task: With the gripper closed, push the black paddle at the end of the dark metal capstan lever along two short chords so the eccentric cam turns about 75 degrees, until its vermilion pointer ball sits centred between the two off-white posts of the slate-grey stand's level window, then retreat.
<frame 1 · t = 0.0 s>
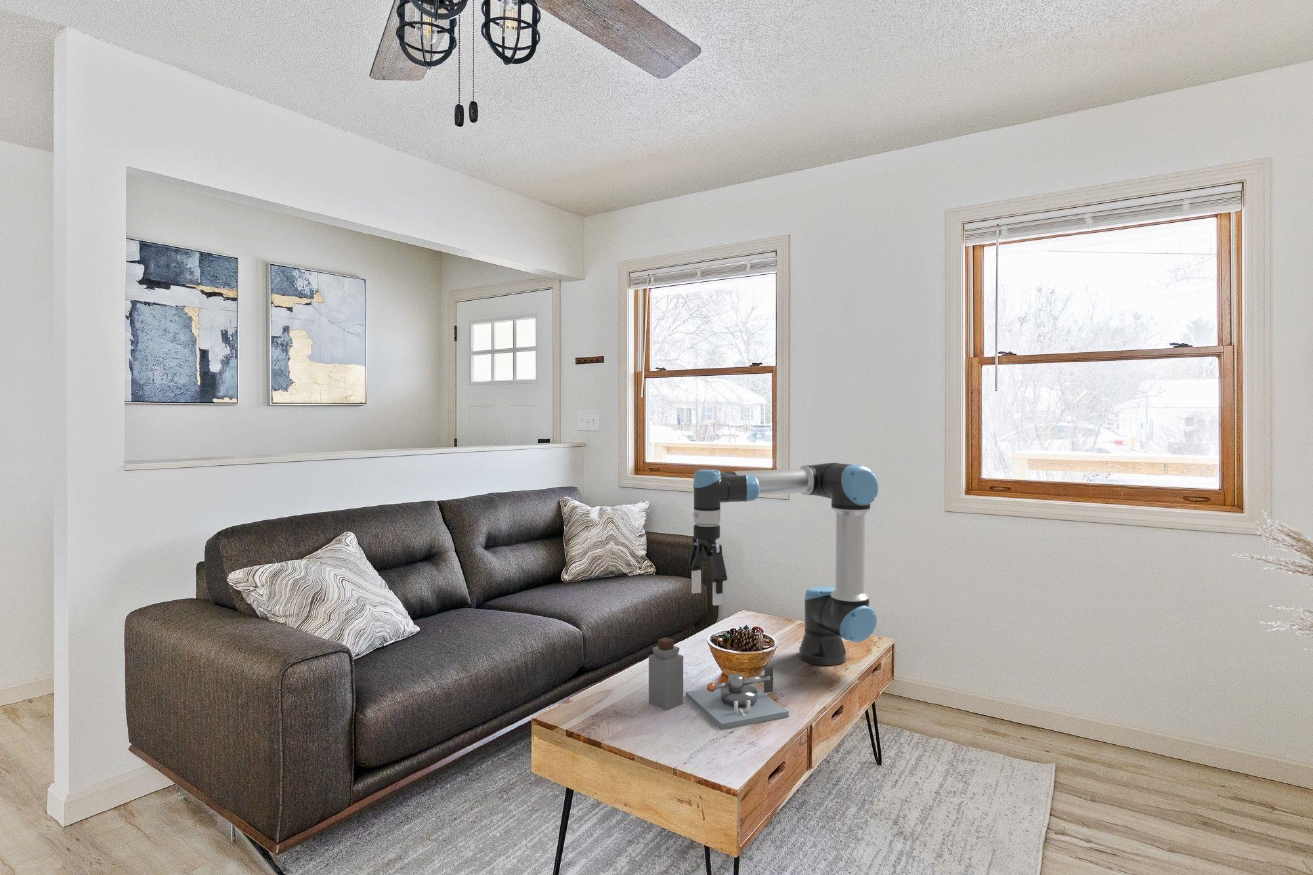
hand: (706, 598, 200), 28 cm above the table, fingers open, 13 cm apart
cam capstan: (740, 684, 194), point 6 cm above the table, hinge at 0.0°
stand: (735, 706, 193), on the table
perfume bottle: (665, 704, 195), on the table
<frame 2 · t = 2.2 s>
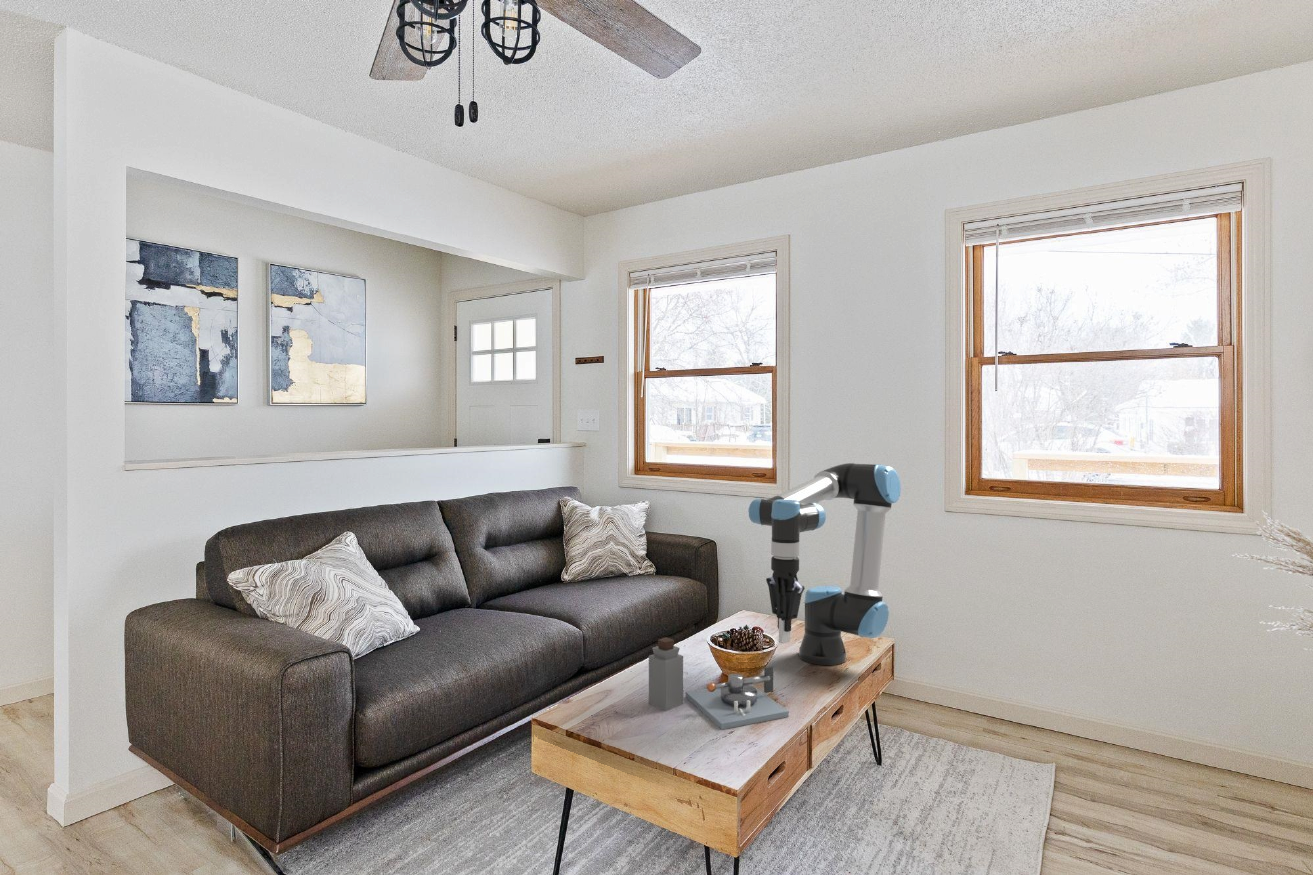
hand: (784, 642, 192), 18 cm above the table, fingers closed
nothing on the table moved.
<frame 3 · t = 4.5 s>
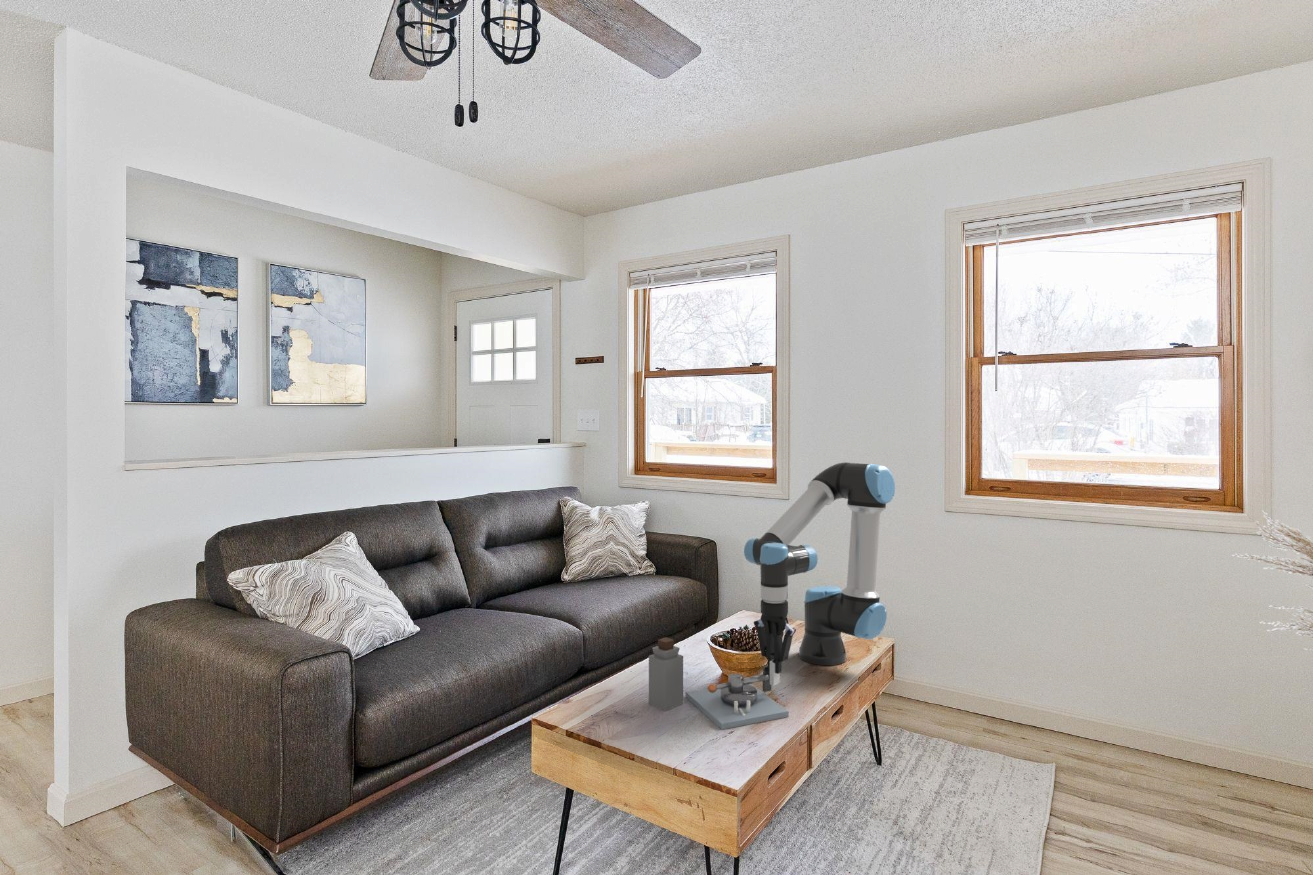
hand: (774, 683, 196), 5 cm above the table, fingers closed
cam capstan: (740, 684, 194), point 6 cm above the table, hinge at 4.3°, touching gripper
everything else where it was.
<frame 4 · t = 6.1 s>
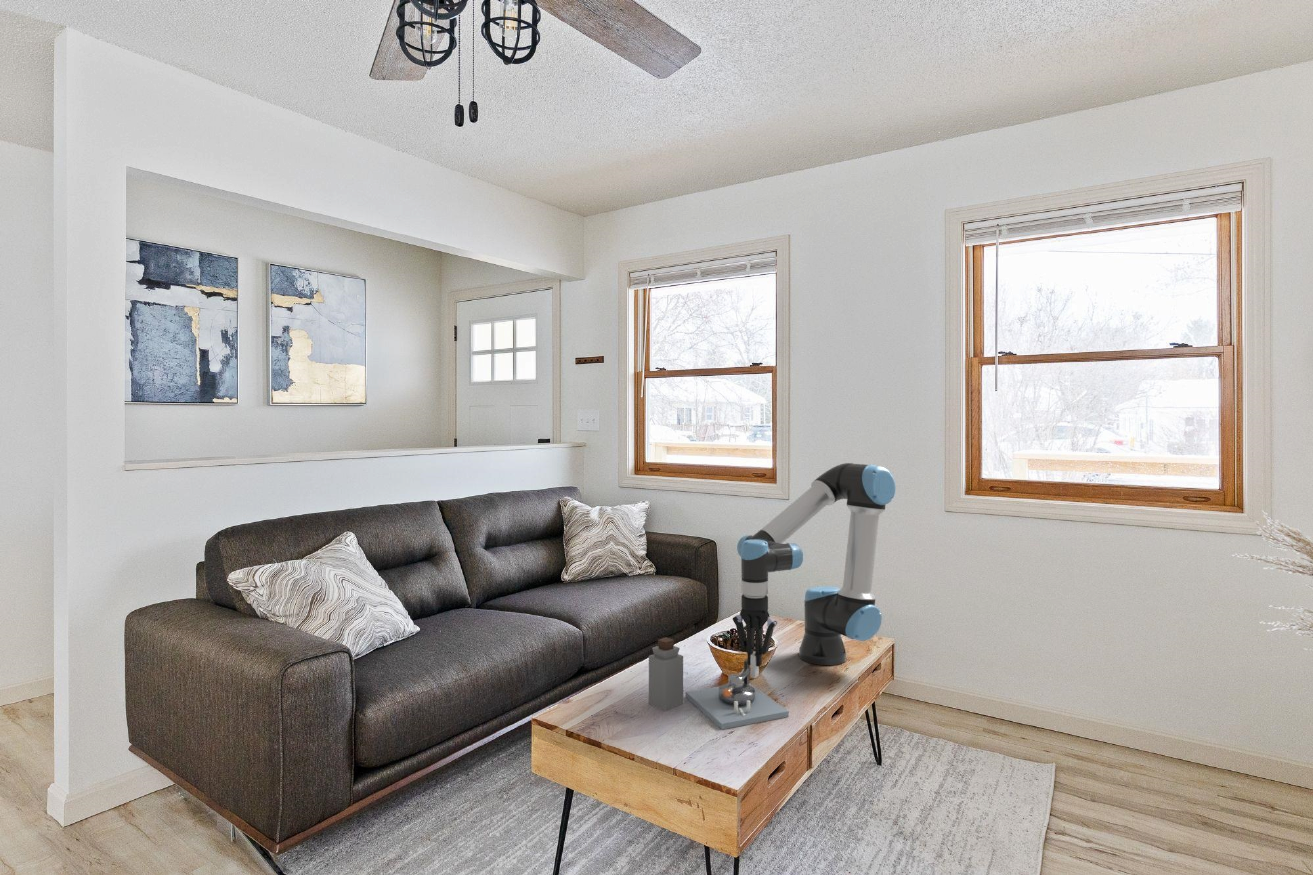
hand: (754, 676, 201), 5 cm above the table, fingers closed
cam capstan: (737, 683, 195), point 6 cm above the table, hinge at 43.7°, touching gripper
everything else where it was.
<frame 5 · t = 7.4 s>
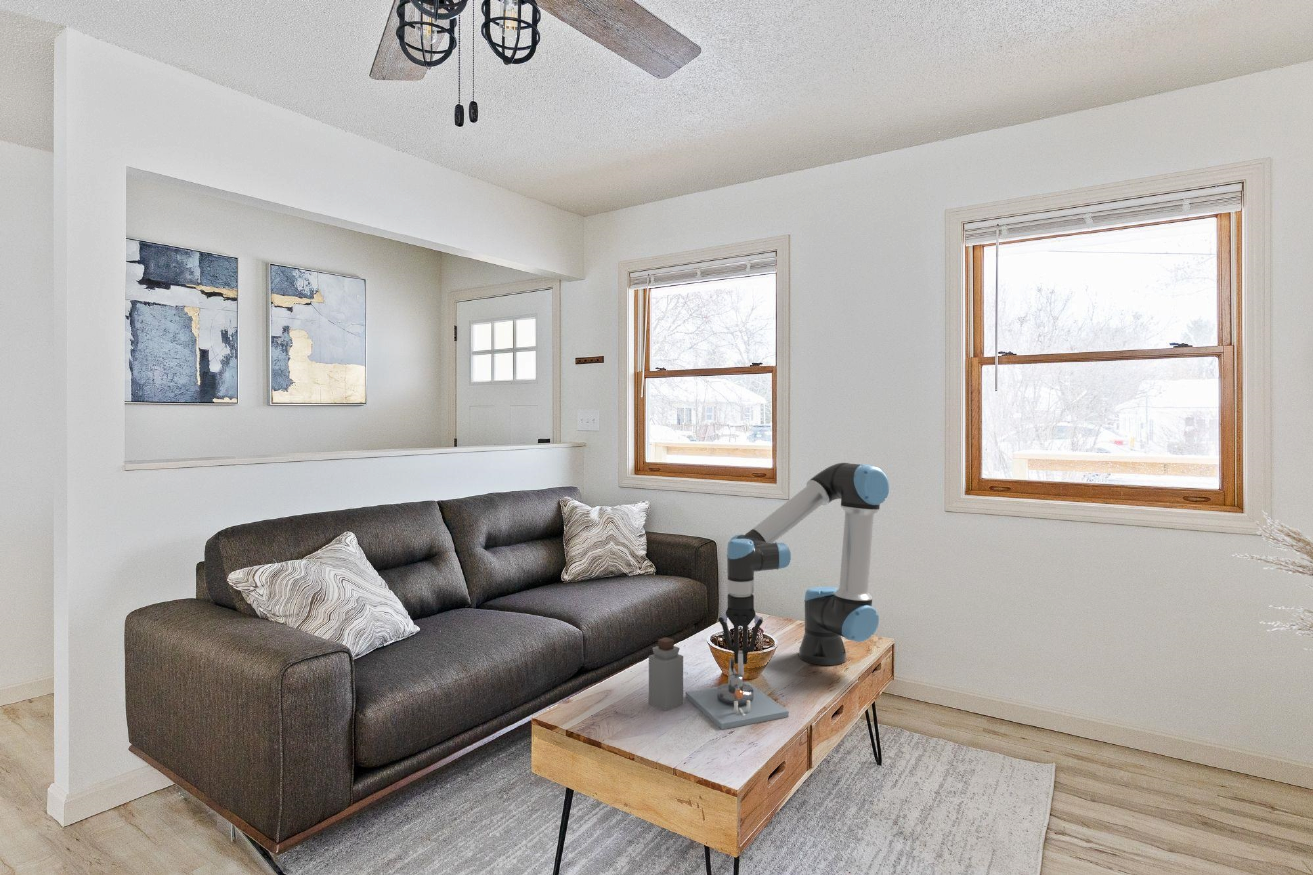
hand: (740, 674, 203), 5 cm above the table, fingers closed
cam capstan: (735, 683, 195), point 6 cm above the table, hinge at 67.6°, touching gripper
everything else where it was.
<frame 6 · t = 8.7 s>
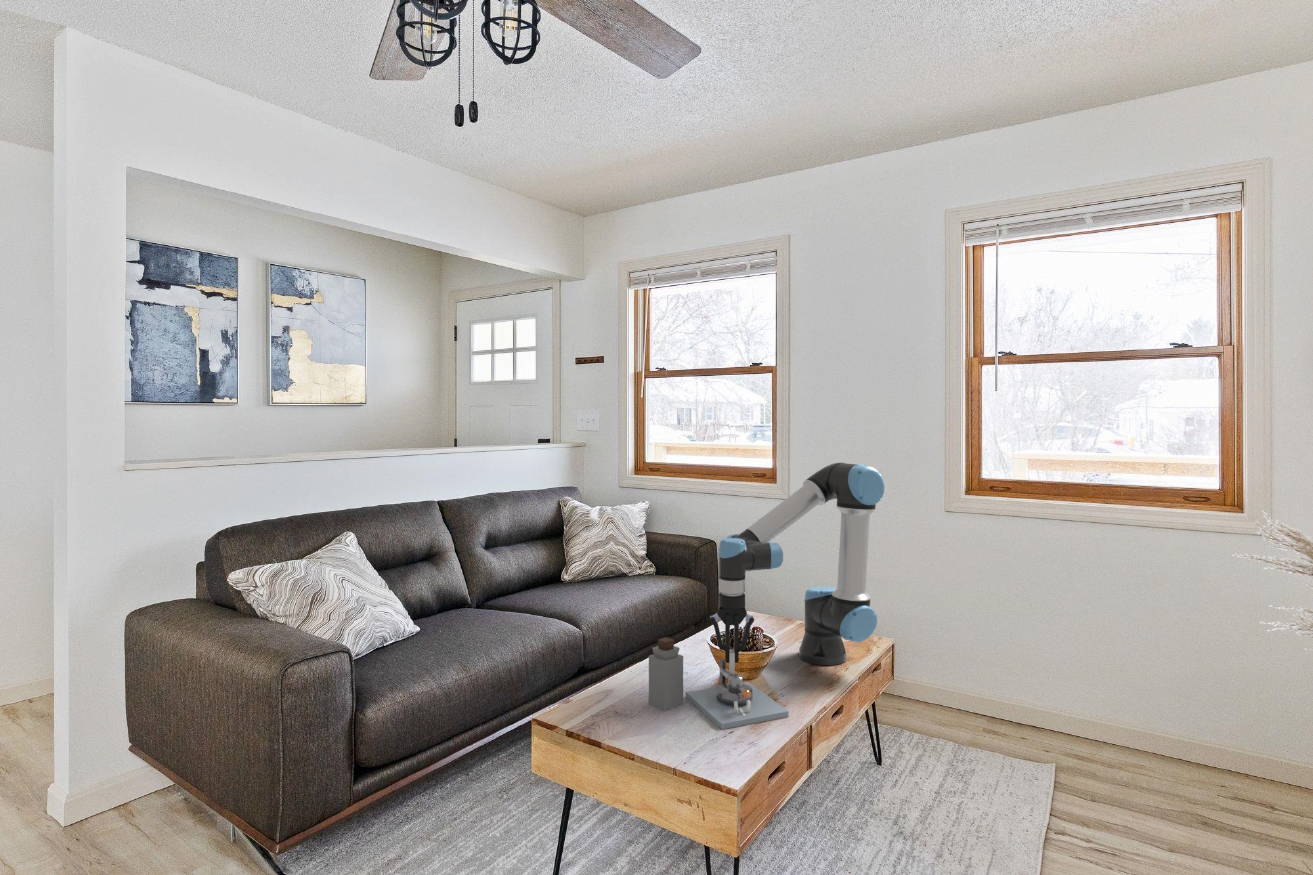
hand: (731, 673, 203), 5 cm above the table, fingers closed
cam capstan: (733, 683, 195), point 6 cm above the table, hinge at 82.6°, touching gripper
everything else where it was.
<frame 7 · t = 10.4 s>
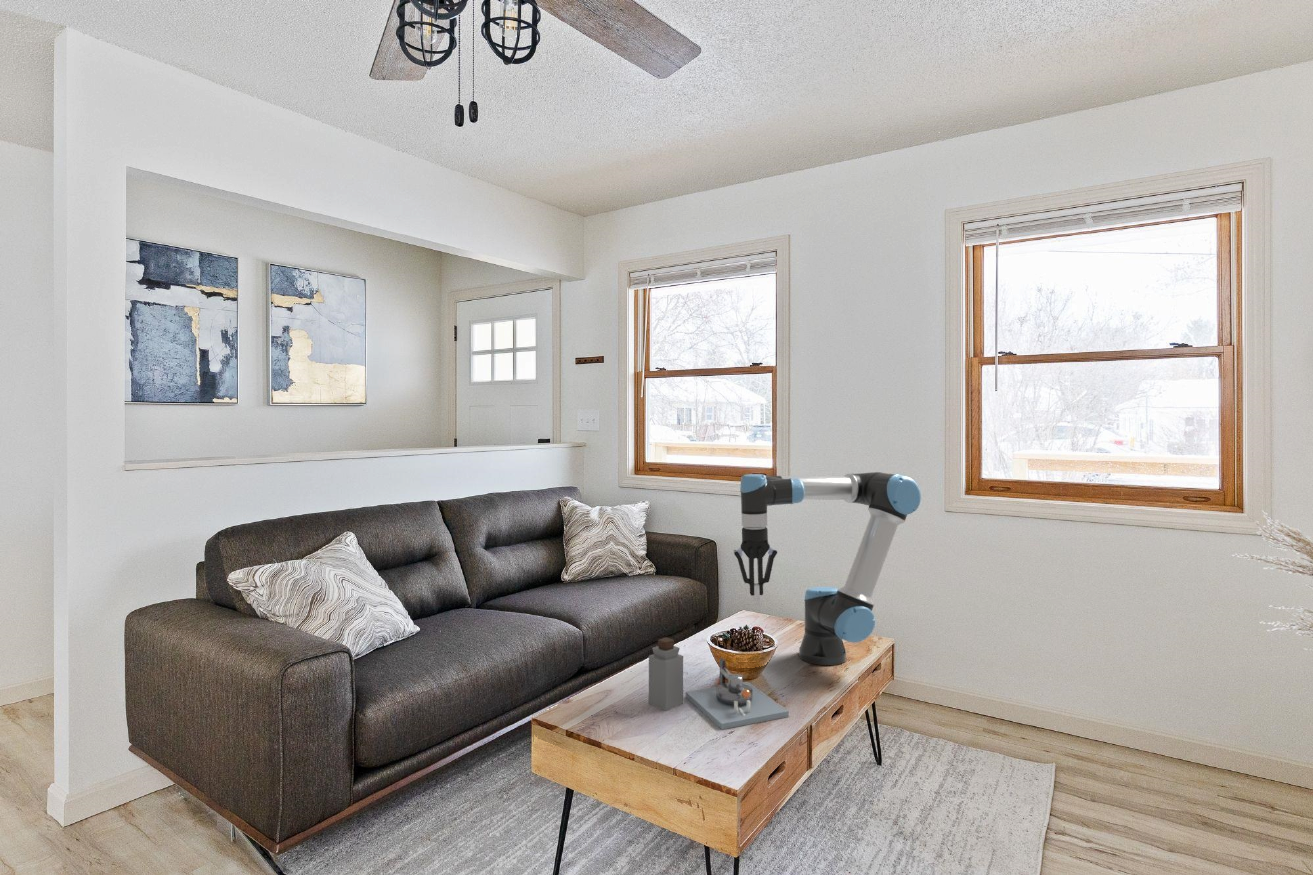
hand: (756, 605, 208), 24 cm above the table, fingers closed
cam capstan: (733, 683, 195), point 6 cm above the table, hinge at 82.7°
everything else where it was.
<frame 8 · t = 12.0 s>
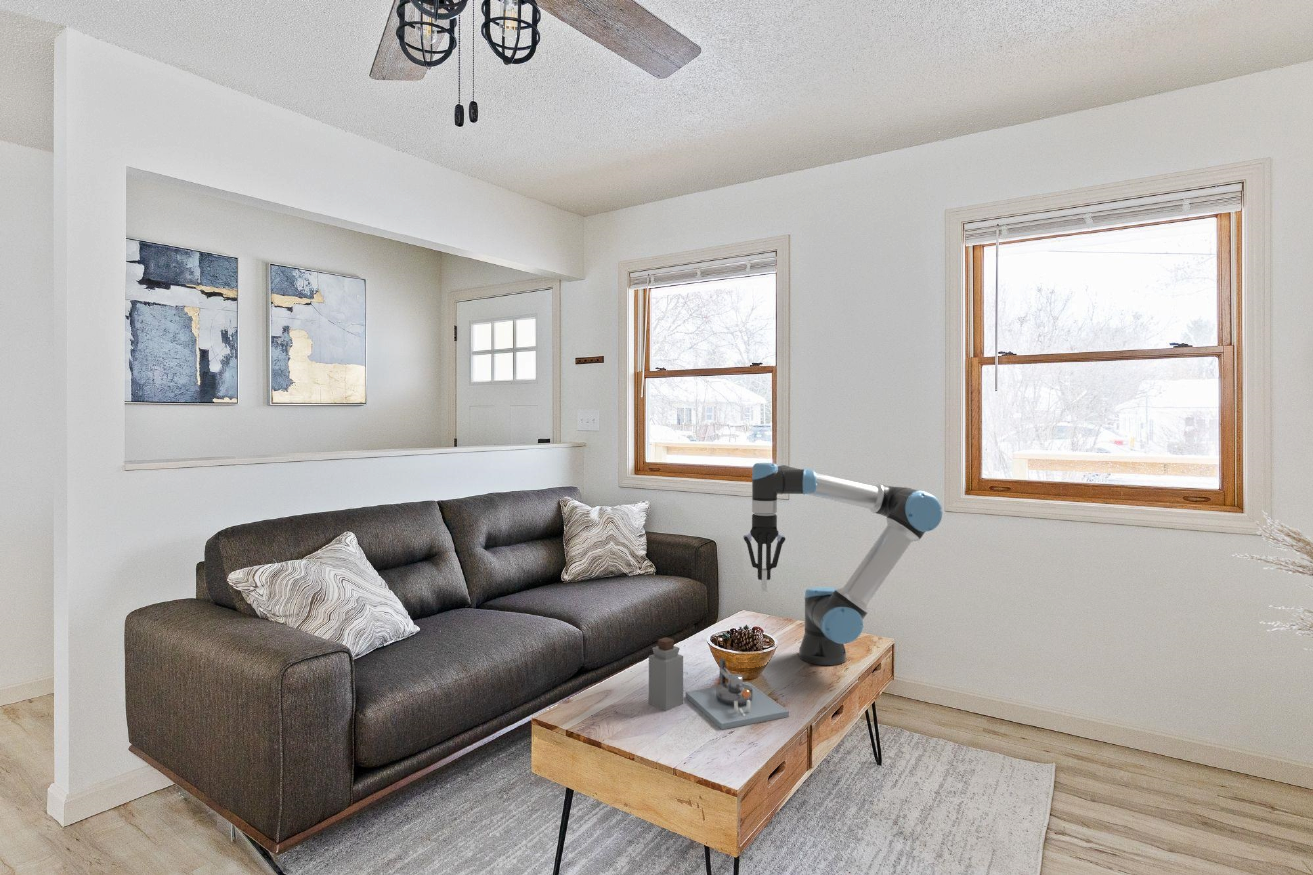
hand: (763, 590, 215), 26 cm above the table, fingers closed
nothing on the table moved.
at the end: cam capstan at +83° (first picture: +0°) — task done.
